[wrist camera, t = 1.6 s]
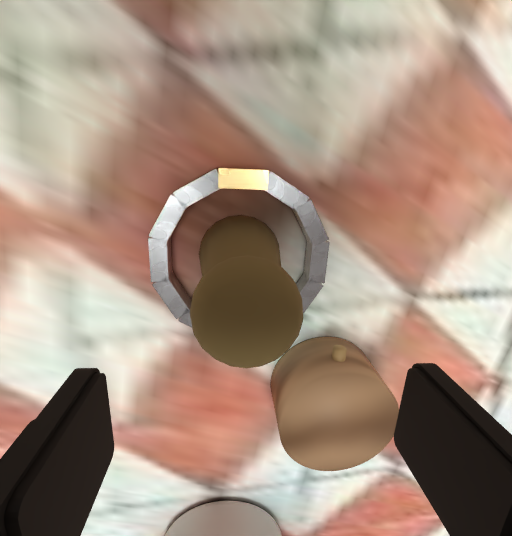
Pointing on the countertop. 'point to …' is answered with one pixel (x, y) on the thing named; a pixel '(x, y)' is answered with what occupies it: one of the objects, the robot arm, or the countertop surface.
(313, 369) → the pot
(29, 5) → the countertop surface
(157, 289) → the collar
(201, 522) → the cylinder vase
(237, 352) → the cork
